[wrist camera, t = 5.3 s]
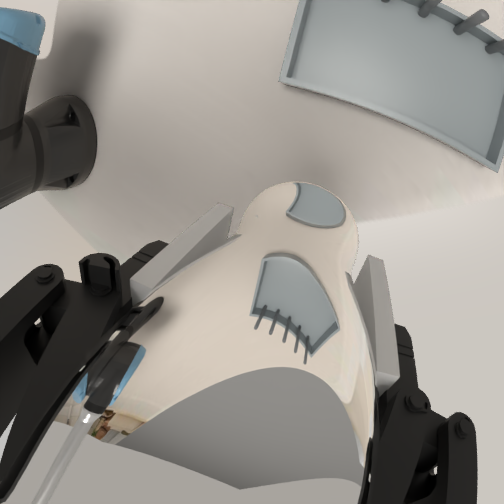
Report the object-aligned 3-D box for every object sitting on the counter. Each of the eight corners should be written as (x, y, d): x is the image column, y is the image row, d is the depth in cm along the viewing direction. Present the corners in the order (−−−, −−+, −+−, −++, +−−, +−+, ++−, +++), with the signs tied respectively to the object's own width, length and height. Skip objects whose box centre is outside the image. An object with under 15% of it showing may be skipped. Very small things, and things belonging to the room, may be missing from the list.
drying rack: (285, 84, 26) (266, 76, 19) (314, -25, 19) (303, -61, 12) (483, 165, 23) (519, 185, 16) (509, 59, 15) (547, 52, 9)
